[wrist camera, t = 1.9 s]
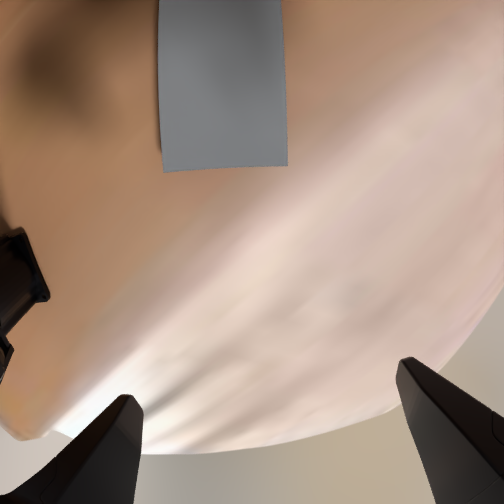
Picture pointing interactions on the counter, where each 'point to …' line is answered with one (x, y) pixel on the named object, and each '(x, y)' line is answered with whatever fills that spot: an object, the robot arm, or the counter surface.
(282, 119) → the slate tile
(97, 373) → the counter surface
